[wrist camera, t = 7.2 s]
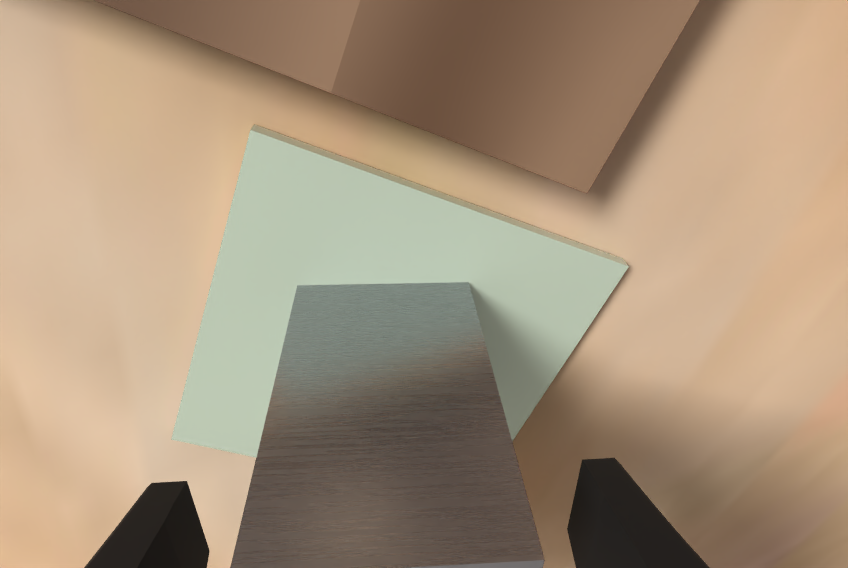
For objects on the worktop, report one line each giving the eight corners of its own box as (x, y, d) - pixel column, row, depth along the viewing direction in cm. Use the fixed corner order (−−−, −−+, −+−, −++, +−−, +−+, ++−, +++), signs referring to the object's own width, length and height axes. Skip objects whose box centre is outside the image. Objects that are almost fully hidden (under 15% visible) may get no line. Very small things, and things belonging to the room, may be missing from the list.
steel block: (468, 281, 13) (543, 560, 7) (459, 407, 15) (512, 703, 9) (297, 285, 13) (228, 576, 7) (311, 412, 15) (267, 722, 9)
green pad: (622, 258, 14) (629, 266, 13) (469, 492, 18) (470, 503, 17) (254, 124, 11) (250, 129, 11) (176, 428, 15) (171, 439, 15)
